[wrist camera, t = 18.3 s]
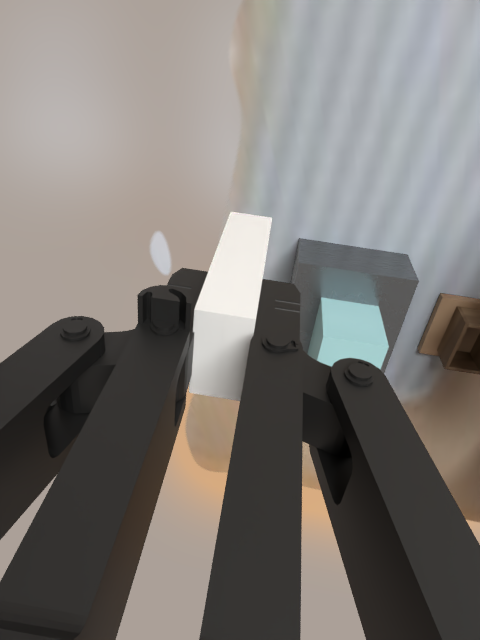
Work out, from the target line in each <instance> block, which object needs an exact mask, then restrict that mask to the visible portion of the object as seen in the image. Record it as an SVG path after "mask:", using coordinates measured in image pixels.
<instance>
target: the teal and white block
mask: <svg viewBox="0 0 480 640" xmlns="http://www.w3.org/2000/svg"><path fill="white" fill-rule="evenodd" d="M388 348H389V345H388V341H387V337H386V333H385V329H384V325H383V321H382V317H381V313H380V309H379V306H374V305H367V304H361V303H354V302H348V301H341V300H335V299H329V298H322V297H321V300H320V305H319V309H318V313H317V317H316V321H315V325H314V329H313V333H312V337H311V341H310V345H309V349H308V353H307V354H308V355H309V356H310V357H312V358H313V359H315V360H317V361H319V362H321V363H323V364H326V365H329V366H331V367H332V366H333V364H334V363H335V362H336V361H338V360H340V359H344V358H356V359H361V360H364V361H367V362H369V363H372V364H373V365H374V366H376V367H377V368H379V369H381V367H382V364H383V361H384V358H385V356H386V353H387V350H388Z"/></svg>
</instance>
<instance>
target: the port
mask: <svg viewBox="0 0 480 640" xmlns="http://www.w3.org/2000/svg"><path fill="white" fill-rule="evenodd" d="M418 282H419V281H418V278H417V276H416V273H415V271H414V269H413V266H412V264H411V262H410V259H409V257H408V255H406V254H399V253H393V252H386V251H379V250H373V249H366V248H360V247H353V246H346V245H340V244H333V243H326V242H320V241H313V240H307V239H300V238H299V243H298V248H297V253H296V258H295V263H294V268H293V273H292V278H291V284H294V285H295V286H296V288H297V289H298V290H299V292H300V293H301V297H300V342H301V343H302V346H303V350H304V351H305V352H306V353H308V349H309V345H310V341H311V337H312V333H313V329H314V325H315V321H316V317H317V313H318V309H319V305H320V300H321V297H322V298H329V299H335V300H341V301H348V302H354V303H361V304H367V305H374V306H379V309H380V313H381V317H382V321H383V325H384V329H385V333H386V337H387V341H388V345H389V348H388V350H387V353H386V356H385V358H384V361H383V364H382V367H381V369H380V370H381V371H382V372H383V374H384V372H385V369H386V366H387V364H388V361H389V358H390V356H391V353H392V350H393V348H394V345H395V342H396V340H397V337H398V335H399V332H400V329H401V327H402V324H403V321H404V319H405V316H406V313H407V311H408V308H409V305H410V303H411V300H412V297H413V295H414V292H415V290H416V287H417V284H418Z"/></svg>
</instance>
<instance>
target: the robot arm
mask: <svg viewBox="0 0 480 640" xmlns="http://www.w3.org/2000/svg"><path fill="white" fill-rule="evenodd" d="M271 223H272V218H270V217H263V216H257V215H250V214H243V213H236V212H230V215H229V218H228V220H227V223H226V226H225V229H224V231H223V234H222V237H221V239H220V242H219V245H218V247H217V250H216V253H215V255H214V258H213V261H212V264H211V266H210V269H209V271H208V272H206V271H199V270H192V269H186V268H182V269H180V270H179V271H177V272H175V273H174V274H172V277H171V278H170V280H169V282H168V285H167V286H163V285H159V286H153V287H149V288H147V289H144V290H142V291H141V292H140V293H139V294H138V324H137V326H136V328H135V329H133V330H129V331H123V332H105V333H104V327H103V326H102V324H101V323H100V322H99V321H97V320H95V319H93V318H89V317H84V316H78V317H77V316H74V317H68V318H64V319H61V320H59V321H57V322H55V323H53V324H52V325H50V326H49V327H48V328H46V329H45V330H44V331H42V332H41V333H40V334H39V335H37V336H36V337H34V338H33V339H32V340H31V341H29V342H28V343H27V344H25V345H24V346H23V347H21V348H20V349H19V350H17V351H16V352H15V353H13V354H12V355H11V356H9V357H8V358H7V359H5V360H4V361H3V362H1V363H0V539H1V538H2V537H3V536H4V535H5V534H6V533H7V531H8V530H9V529H10V528H11V527H12V526H13V524H14V523H15V522H16V521H17V520H18V519H19V518H20V516H21V515H22V514H23V513H24V512H25V511H26V509H27V508H28V507H29V506H30V505H31V503H32V502H33V501H34V500H35V499H36V498H37V497H38V496H39V494H40V493H41V492H42V491H43V490H44V488H45V487H46V486H47V485H48V484H49V483H50V482H51V480H52V479H53V478H54V477H55V476H56V475H57V476H56V478H55V480H54V482H53V484H52V486H51V488H50V489H49V491H48V493H47V495H46V497H45V499H44V501H43V503H42V504H41V506H40V508H39V510H38V512H37V514H36V516H35V518H34V519H33V522H32V523H31V525H30V527H29V529H28V531H27V533H26V534H25V536H24V538H23V540H22V542H21V544H20V546H19V548H18V550H17V552H16V553H15V555H14V557H13V559H12V561H11V563H10V565H9V566H8V568H7V570H6V572H5V574H4V576H3V578H2V580H1V582H0V640H116V636H117V633H118V629H119V626H120V623H121V619H122V616H123V613H124V610H125V606H126V603H127V600H128V596H129V593H130V589H131V586H132V583H133V579H134V576H135V573H136V570H137V566H138V563H139V560H140V556H141V553H142V550H143V546H144V543H145V539H146V536H147V533H148V530H149V526H150V523H151V520H152V516H153V513H154V510H155V506H156V503H157V499H158V496H159V493H160V489H161V486H162V483H163V479H164V476H165V473H166V469H167V466H168V463H169V459H170V456H171V453H172V450H173V446H174V443H175V440H176V436H177V433H178V430H179V426H180V423H181V419H182V416H183V413H184V409H185V405H186V404H185V403H186V392H187V389H188V385H189V393H195V394H201V395H207V396H213V397H219V398H225V399H231V400H237V401H240V405H239V411H238V417H237V423H236V429H235V435H234V440H233V446H232V452H231V458H230V464H229V470H228V475H227V481H226V487H225V493H224V499H223V505H222V511H221V516H220V522H219V529H218V534H217V540H216V545H215V551H214V557H213V563H212V569H211V575H210V581H209V586H208V593H207V598H206V605H205V610H204V616H203V622H202V627H201V633H200V639H199V640H300V610H301V608H300V607H301V518H302V517H301V515H302V513H301V512H302V441H303V442H305V443H308V444H309V447H310V454H311V457H312V460H313V464H314V467H315V470H316V474H317V477H318V480H319V484H320V487H321V490H322V494H323V497H324V500H325V503H326V507H327V510H328V514H329V517H330V520H331V524H332V527H333V530H334V534H335V537H336V540H337V544H338V547H339V550H340V553H341V557H342V560H343V563H344V567H345V570H346V574H347V577H348V580H349V584H350V587H351V590H352V594H353V597H354V600H355V604H356V607H357V610H358V614H359V617H360V620H361V623H362V627H363V630H364V634H365V637H366V640H480V545H479V543H478V541H477V540H476V538H475V536H474V534H473V532H472V530H471V529H470V527H469V525H468V523H467V522H466V520H465V518H464V516H463V514H462V512H461V511H460V509H459V507H458V505H457V503H456V502H455V500H454V498H453V496H452V495H451V493H450V491H449V489H448V487H447V486H446V484H445V482H444V480H443V478H442V477H441V475H440V473H439V471H438V469H437V468H436V466H435V464H434V462H433V460H432V459H431V457H430V455H429V453H428V451H427V450H426V448H425V446H424V444H423V442H422V441H421V439H420V437H419V435H418V434H417V432H416V430H415V428H414V426H413V425H412V423H411V421H410V419H409V417H408V416H407V414H406V412H405V410H404V408H403V407H402V405H401V403H400V401H399V399H398V398H397V396H396V394H395V392H394V390H393V389H392V387H391V385H390V383H389V381H388V380H387V378H386V376H385V375H384V374H383V372H382V371H381V370H380V369H379V368H377V367H376V366H374V365H373V364H372V363H369V362H367V361H364V360H361V359H356V358H344V359H340V360H338V361H336V362H335V363H334V364H333V366H332V367H331V366H329V365H326V364H323V363H321V362H319V361H317V360H315V359H313V358H312V357H310V356H309V355H308V354H307V353H306V352H305V351H304V350H303V346H302V343H301V342H300V297H301V293H300V292H299V290H298V289H297V288H296V286H295V285H294V284H291V283H284V282H278V281H271V280H265V279H263V273H264V267H265V261H266V254H267V248H268V242H269V235H270V229H271ZM189 382H190V384H189ZM58 472H59V473H58Z"/></svg>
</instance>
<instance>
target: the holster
mask: <svg viewBox="0 0 480 640" xmlns="http://www.w3.org/2000/svg"><path fill="white" fill-rule="evenodd" d="M418 351H419V353H423V354H429V355H435V356H440V359H441V362H442V364H443V367H444V369H449V370H455V371H462V372H468V373H474V374H480V299H475V298H469V297H462V296H456V295H449V294H443V293H440V295H439V298H438V300H437V303H436V305H435V307H434V310H433V312H432V315H431V317H430V319H429V322H428V324H427V327H426V329H425V331H424V334H423V336H422V339H421V341H420V343H419V346H418Z"/></svg>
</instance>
